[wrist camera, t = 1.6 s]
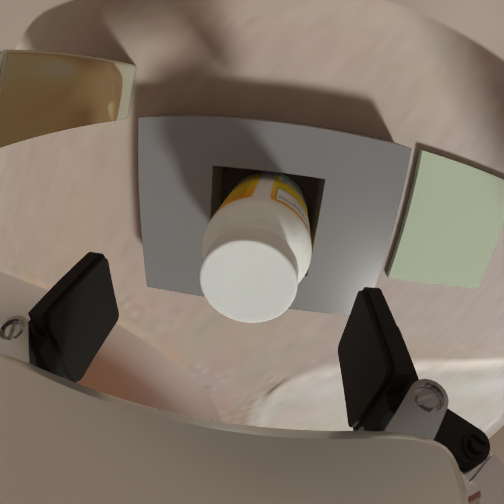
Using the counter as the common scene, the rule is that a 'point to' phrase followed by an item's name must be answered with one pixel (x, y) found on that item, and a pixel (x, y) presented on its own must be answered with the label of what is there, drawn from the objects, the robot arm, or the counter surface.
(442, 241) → the rubber mat
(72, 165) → the counter surface
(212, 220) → the supplement bottle
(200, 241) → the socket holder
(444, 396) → the robot arm
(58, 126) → the skincare box
